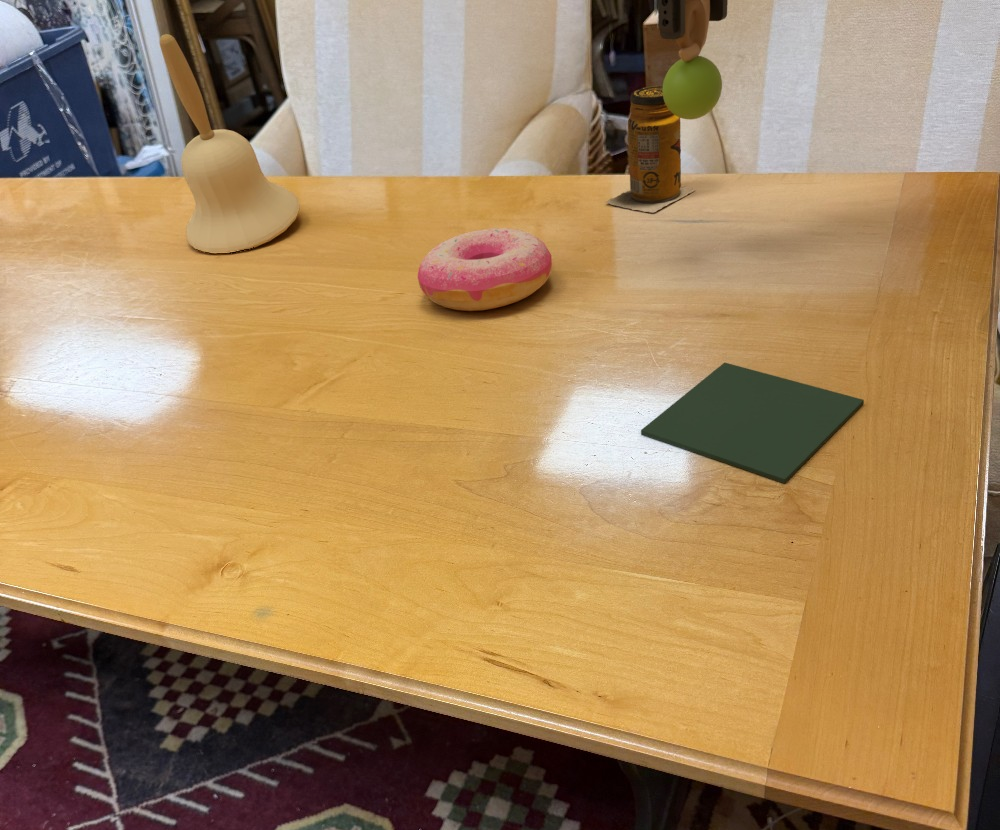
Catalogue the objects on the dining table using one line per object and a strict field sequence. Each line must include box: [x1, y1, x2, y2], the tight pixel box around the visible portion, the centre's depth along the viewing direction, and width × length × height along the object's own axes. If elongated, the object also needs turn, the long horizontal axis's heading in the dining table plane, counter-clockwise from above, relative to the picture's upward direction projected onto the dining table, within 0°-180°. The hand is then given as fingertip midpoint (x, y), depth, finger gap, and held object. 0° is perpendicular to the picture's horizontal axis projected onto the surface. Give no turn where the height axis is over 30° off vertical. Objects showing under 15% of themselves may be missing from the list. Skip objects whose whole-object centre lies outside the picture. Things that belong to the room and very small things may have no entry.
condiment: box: [605, 85, 696, 214], centre depth 107 cm, size 7×8×12 cm
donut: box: [417, 227, 553, 312], centre depth 93 cm, size 14×13×5 cm
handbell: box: [159, 33, 301, 252], centre depth 111 cm, size 15×15×25 cm
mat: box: [640, 362, 865, 484], centre depth 69 cm, size 12×12×1 cm
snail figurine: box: [662, 0, 723, 120], centre depth 83 cm, size 5×6×12 cm
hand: (693, 28), depth 82 cm, fingers closed on snail figurine, 6 cm apart
